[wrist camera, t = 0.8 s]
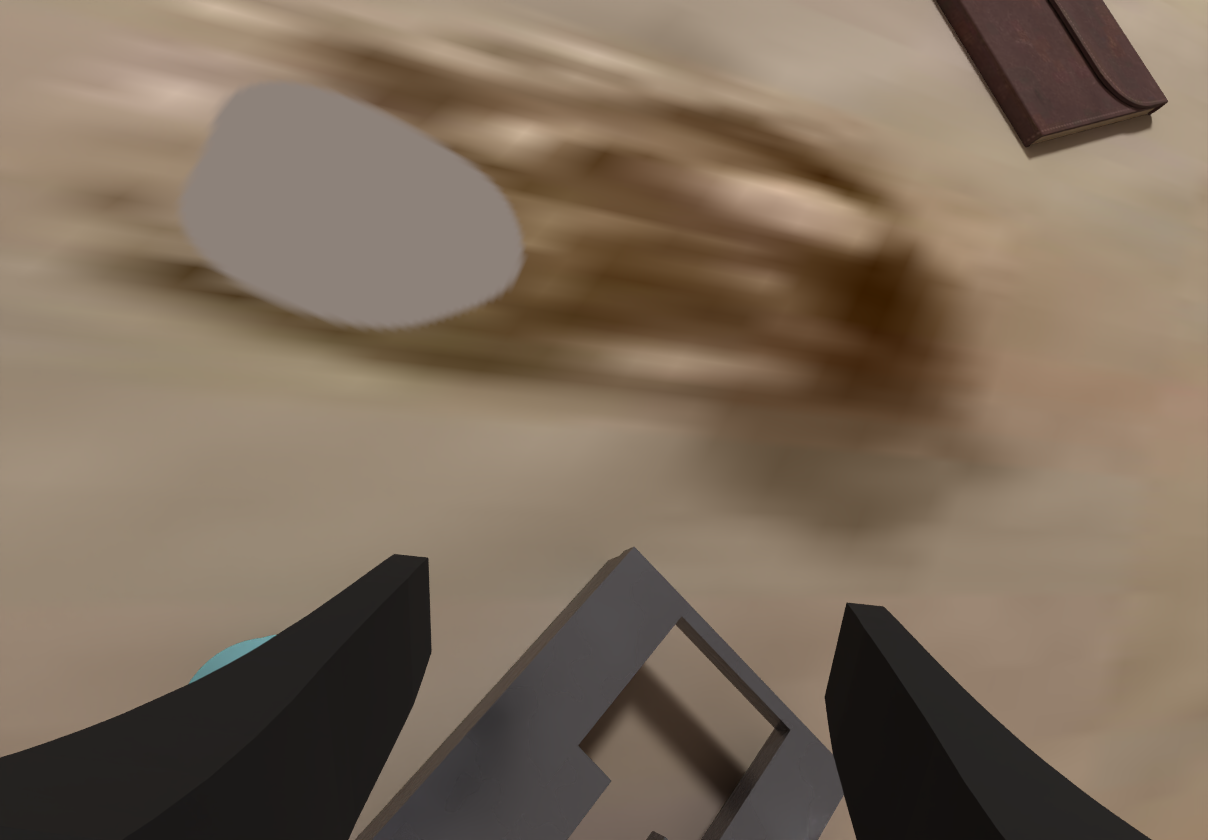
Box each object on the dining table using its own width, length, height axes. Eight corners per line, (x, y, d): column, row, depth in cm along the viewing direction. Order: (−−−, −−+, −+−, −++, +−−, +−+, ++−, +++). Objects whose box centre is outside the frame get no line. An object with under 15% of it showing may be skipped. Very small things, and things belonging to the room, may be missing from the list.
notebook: (1018, 152, 46) (1046, 131, 44) (869, -95, 49) (890, -124, 47) (1144, 119, 52) (1172, 99, 51) (1005, -98, 55) (1028, -123, 54)
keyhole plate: (582, 1132, 22) (615, 1191, 19) (326, 865, 22) (326, 890, 19) (806, 767, 28) (854, 776, 25) (606, 558, 28) (634, 546, 25)
